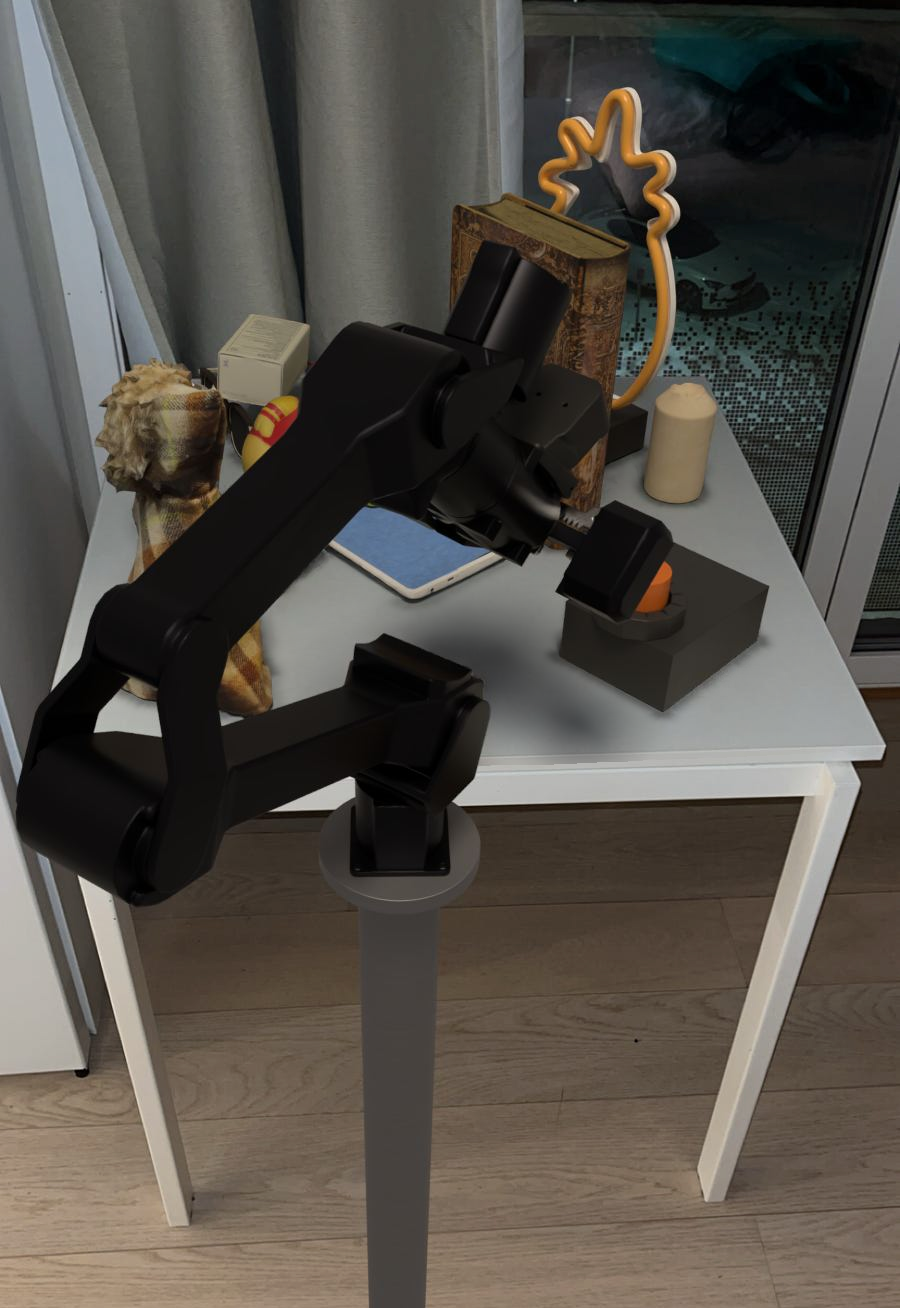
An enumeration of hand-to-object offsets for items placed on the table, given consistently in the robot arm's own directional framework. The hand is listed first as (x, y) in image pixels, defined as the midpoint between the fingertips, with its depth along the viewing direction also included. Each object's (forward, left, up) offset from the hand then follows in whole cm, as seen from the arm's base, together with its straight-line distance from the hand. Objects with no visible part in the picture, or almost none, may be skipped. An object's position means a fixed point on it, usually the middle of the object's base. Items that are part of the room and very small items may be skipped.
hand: (573, 563), depth 86 cm
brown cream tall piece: (+6, +27, -14) cm, 31 cm away
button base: (+9, -9, -14) cm, 19 cm away
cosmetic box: (+52, +23, -7) cm, 57 cm away
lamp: (+43, -7, -14) cm, 46 cm away
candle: (+35, -15, -14) cm, 40 cm away
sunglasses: (+47, +21, -14) cm, 53 cm away
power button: (+6, -6, -7) cm, 11 cm away
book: (+31, 0, -14) cm, 34 cm away
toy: (+35, +22, -9) cm, 43 cm away
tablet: (+26, +12, -14) cm, 32 cm away
